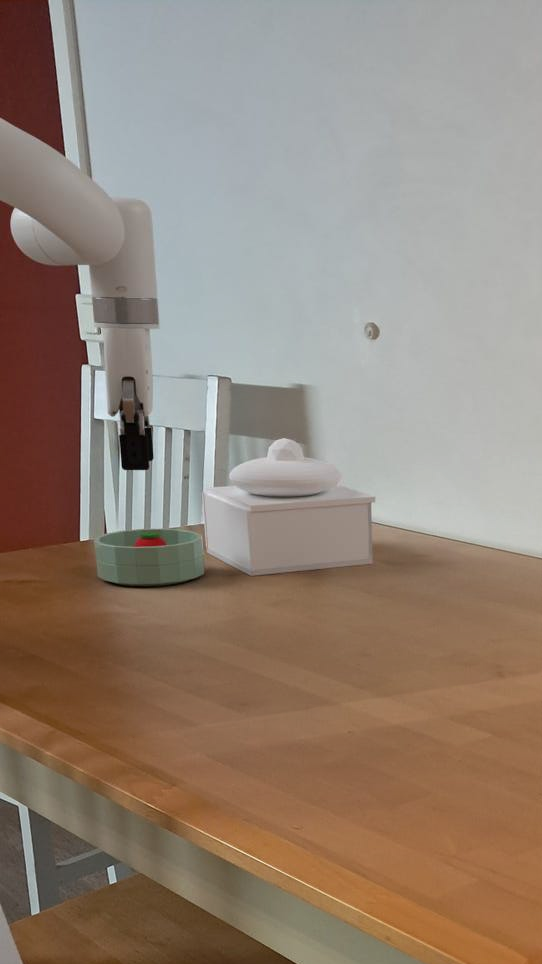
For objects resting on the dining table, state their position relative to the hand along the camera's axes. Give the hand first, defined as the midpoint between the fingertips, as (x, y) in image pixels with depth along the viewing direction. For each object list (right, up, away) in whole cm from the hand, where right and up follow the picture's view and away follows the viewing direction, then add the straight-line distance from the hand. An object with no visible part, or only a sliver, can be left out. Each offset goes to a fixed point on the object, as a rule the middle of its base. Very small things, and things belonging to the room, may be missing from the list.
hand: (138, 465), depth 157 cm
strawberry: (0, -12, +6) cm, 13 cm away
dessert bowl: (0, -13, +6) cm, 14 cm away
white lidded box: (+16, -8, +18) cm, 25 cm away
